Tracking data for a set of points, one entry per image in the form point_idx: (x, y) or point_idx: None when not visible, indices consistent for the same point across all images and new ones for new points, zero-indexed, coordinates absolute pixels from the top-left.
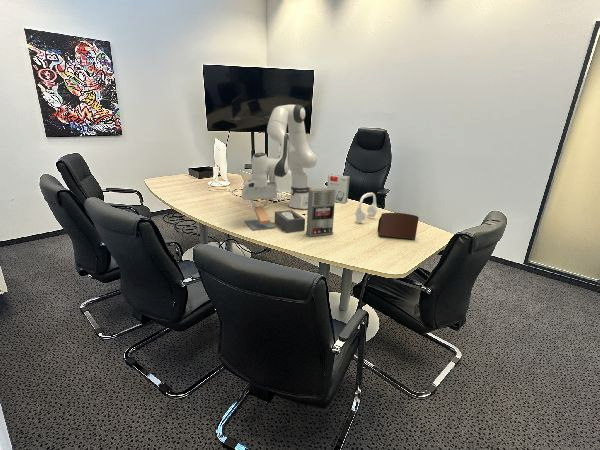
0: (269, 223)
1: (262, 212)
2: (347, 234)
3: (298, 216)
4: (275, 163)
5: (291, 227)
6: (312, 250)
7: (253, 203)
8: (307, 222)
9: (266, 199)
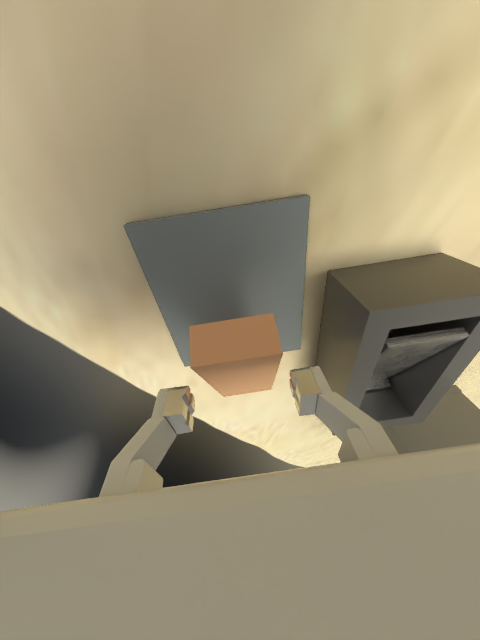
0: (286, 303)
1: (250, 378)
2: None
3: (426, 400)
4: None
5: None
6: (311, 456)
7: (166, 446)
8: (396, 440)
9: (343, 458)
